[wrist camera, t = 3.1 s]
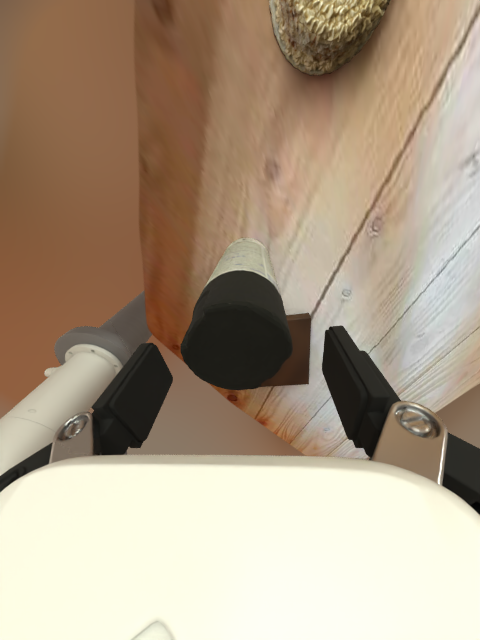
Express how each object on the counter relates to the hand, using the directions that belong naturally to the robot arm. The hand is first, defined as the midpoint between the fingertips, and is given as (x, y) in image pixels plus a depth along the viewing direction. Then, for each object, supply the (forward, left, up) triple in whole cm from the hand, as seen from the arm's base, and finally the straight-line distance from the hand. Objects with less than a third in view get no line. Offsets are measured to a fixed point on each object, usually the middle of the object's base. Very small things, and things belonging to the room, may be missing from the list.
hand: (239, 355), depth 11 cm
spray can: (0, 0, -20) cm, 20 cm away
